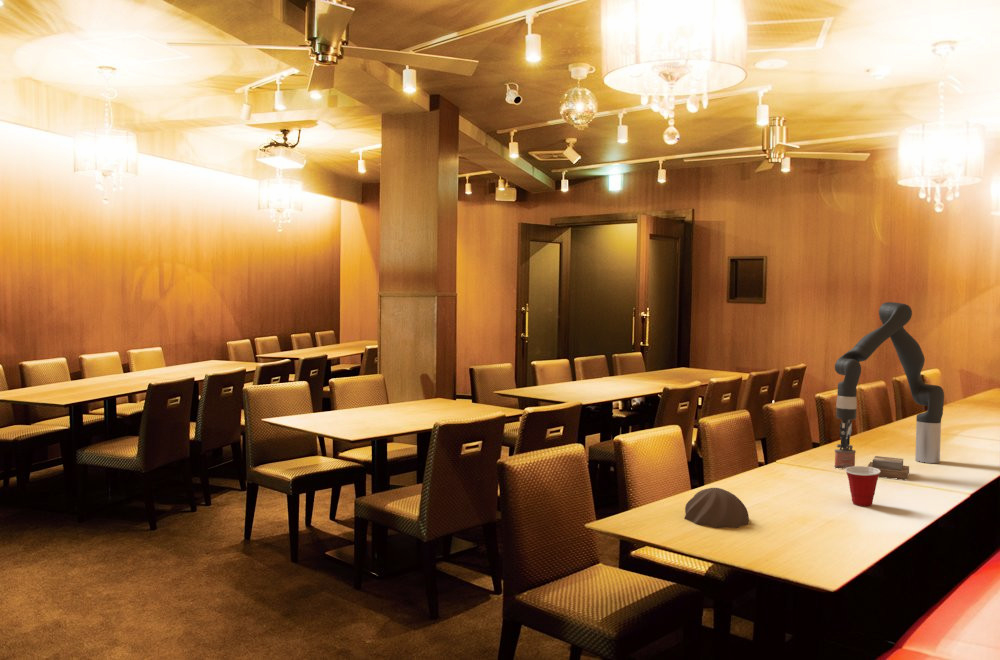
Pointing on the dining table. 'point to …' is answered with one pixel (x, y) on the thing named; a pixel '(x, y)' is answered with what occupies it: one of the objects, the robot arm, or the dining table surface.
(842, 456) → the lighter
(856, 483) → the plastic cup
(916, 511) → the dining table surface
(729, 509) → the decorative dome
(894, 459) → the plinth
